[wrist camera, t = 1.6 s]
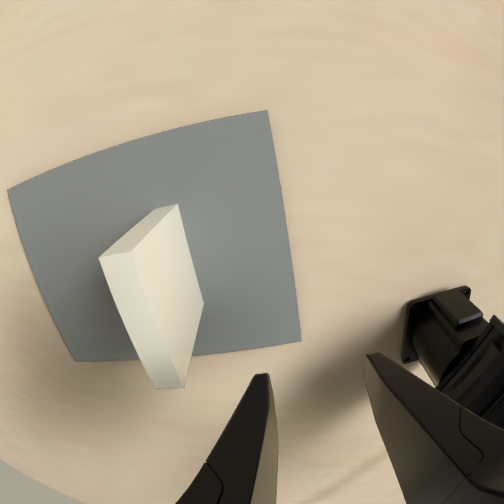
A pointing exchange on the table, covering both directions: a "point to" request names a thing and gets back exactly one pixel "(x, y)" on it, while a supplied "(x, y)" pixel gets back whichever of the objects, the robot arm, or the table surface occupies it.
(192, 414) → the table surface
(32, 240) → the mat
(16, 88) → the table surface
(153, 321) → the tile
